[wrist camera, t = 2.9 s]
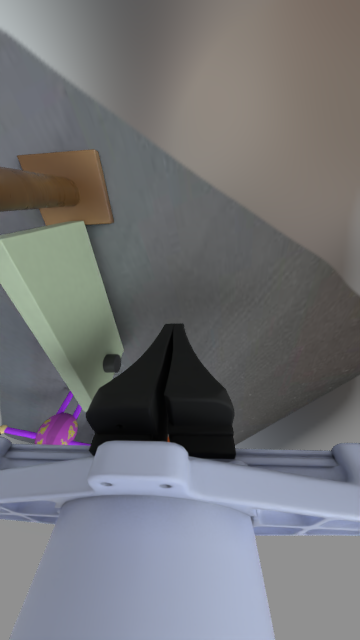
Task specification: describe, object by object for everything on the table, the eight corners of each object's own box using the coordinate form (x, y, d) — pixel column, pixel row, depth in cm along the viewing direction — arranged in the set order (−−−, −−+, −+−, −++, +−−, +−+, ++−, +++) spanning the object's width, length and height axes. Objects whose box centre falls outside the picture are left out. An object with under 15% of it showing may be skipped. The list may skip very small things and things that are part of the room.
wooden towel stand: (114, 222, 14) (-2, 262, 5) (51, 225, 14) (-152, 269, 6) (98, 151, 11) (-147, 25, 3) (23, 157, 12) (-384, 58, 3)
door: (132, 350, 20) (110, 412, 14) (113, 350, 20) (83, 412, 14) (97, 219, 13) (23, 238, 7) (67, 221, 13) (-29, 240, 7)
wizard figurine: (121, 394, 26) (81, 513, 16) (116, 405, 28) (78, 519, 18) (39, 372, 24) (-65, 494, 14) (39, 385, 26) (-53, 502, 16)
